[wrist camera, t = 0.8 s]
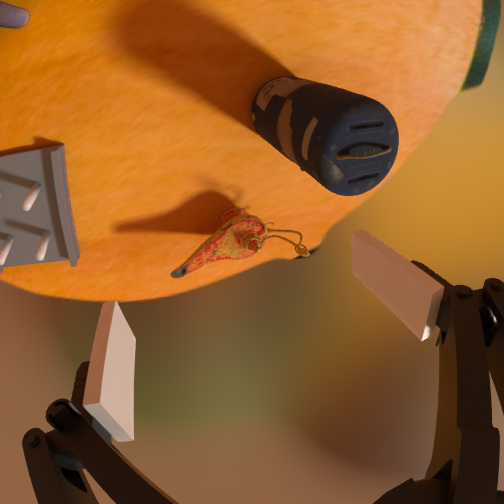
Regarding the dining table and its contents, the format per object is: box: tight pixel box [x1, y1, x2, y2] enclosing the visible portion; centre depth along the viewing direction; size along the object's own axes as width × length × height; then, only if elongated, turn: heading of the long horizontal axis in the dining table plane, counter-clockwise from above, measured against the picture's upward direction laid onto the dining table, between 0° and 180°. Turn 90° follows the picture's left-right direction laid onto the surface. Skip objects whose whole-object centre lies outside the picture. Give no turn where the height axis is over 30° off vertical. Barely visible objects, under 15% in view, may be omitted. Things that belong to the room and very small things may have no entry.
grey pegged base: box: [0, 144, 80, 274], centre depth 28 cm, size 16×14×6 cm
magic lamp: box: [171, 208, 310, 278], centre depth 40 cm, size 7×18×11 cm, turn 97°
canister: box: [252, 76, 399, 196], centre depth 29 cm, size 10×10×18 cm
